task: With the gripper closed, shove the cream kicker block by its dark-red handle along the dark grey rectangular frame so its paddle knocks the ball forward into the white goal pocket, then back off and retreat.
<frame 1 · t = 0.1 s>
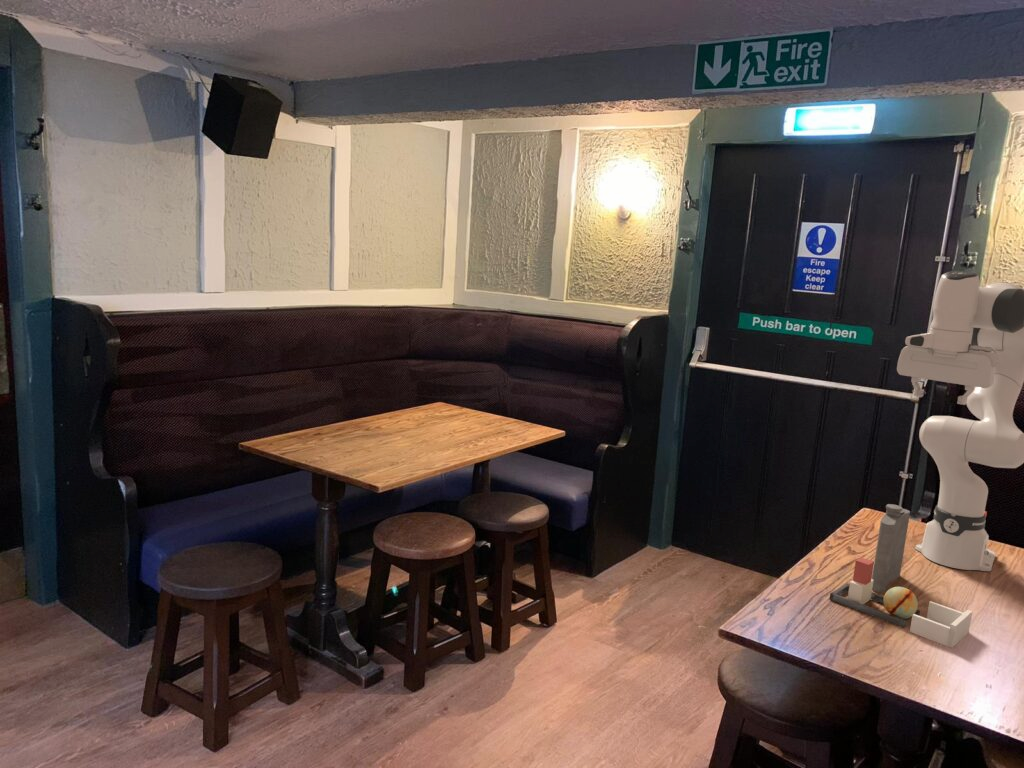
hand: (939, 400, 183), 48 cm above the table, tool pointing down, fingers open, 8 cm apart
ball: (898, 617, 177), on the table
dark grey rectangular frame: (873, 607, 181), on the table
goal: (939, 632, 171), on the table
kicker: (861, 580, 182), point 5 cm above the table, slide at 0.0 cm
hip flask: (883, 582, 196), on the table
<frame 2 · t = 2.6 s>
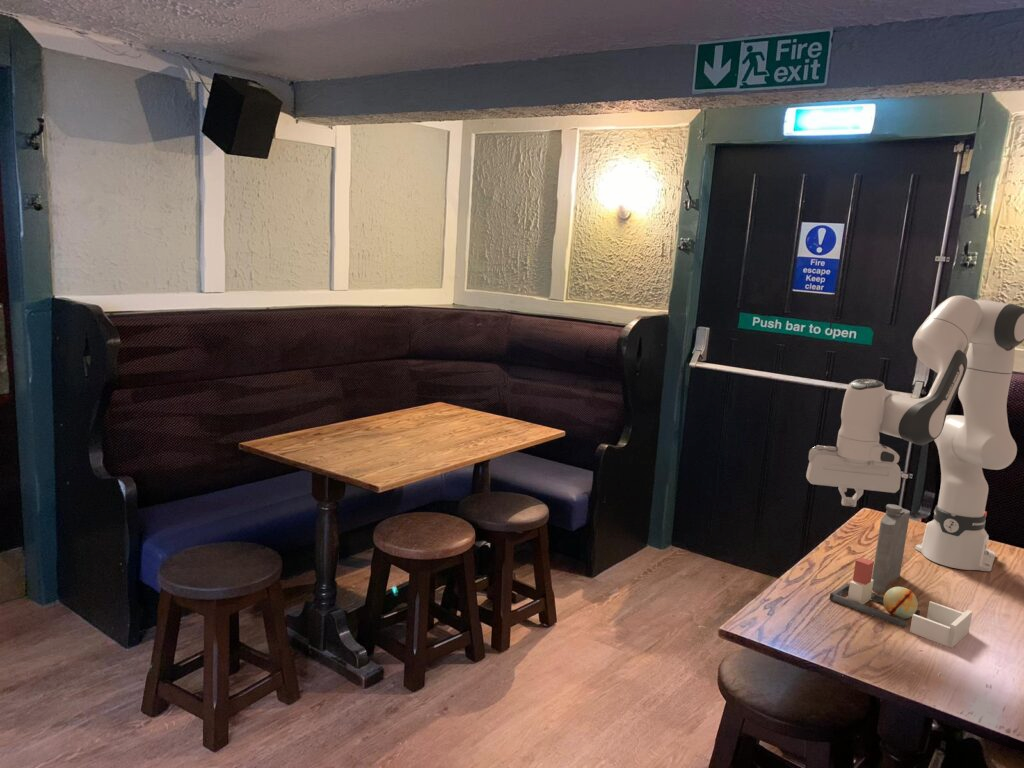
hand: (848, 505, 183), 22 cm above the table, tool pointing down, fingers closed
nothing on the table moved.
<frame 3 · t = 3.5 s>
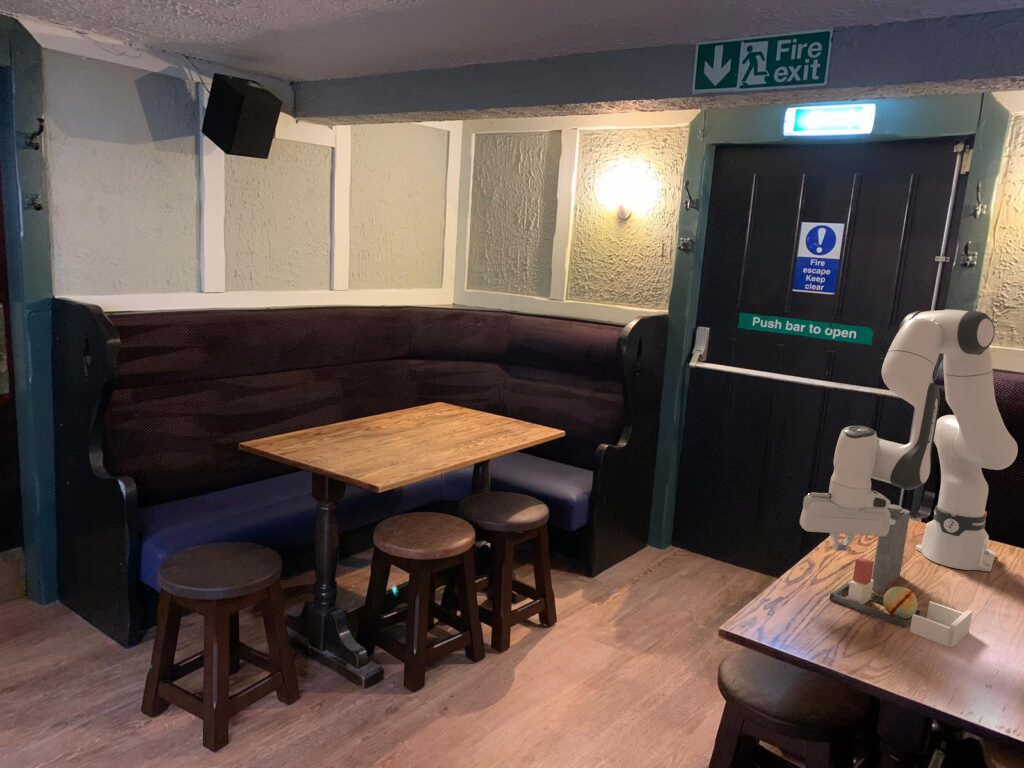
hand: (840, 550, 185), 11 cm above the table, tool pointing down, fingers closed
nothing on the table moved.
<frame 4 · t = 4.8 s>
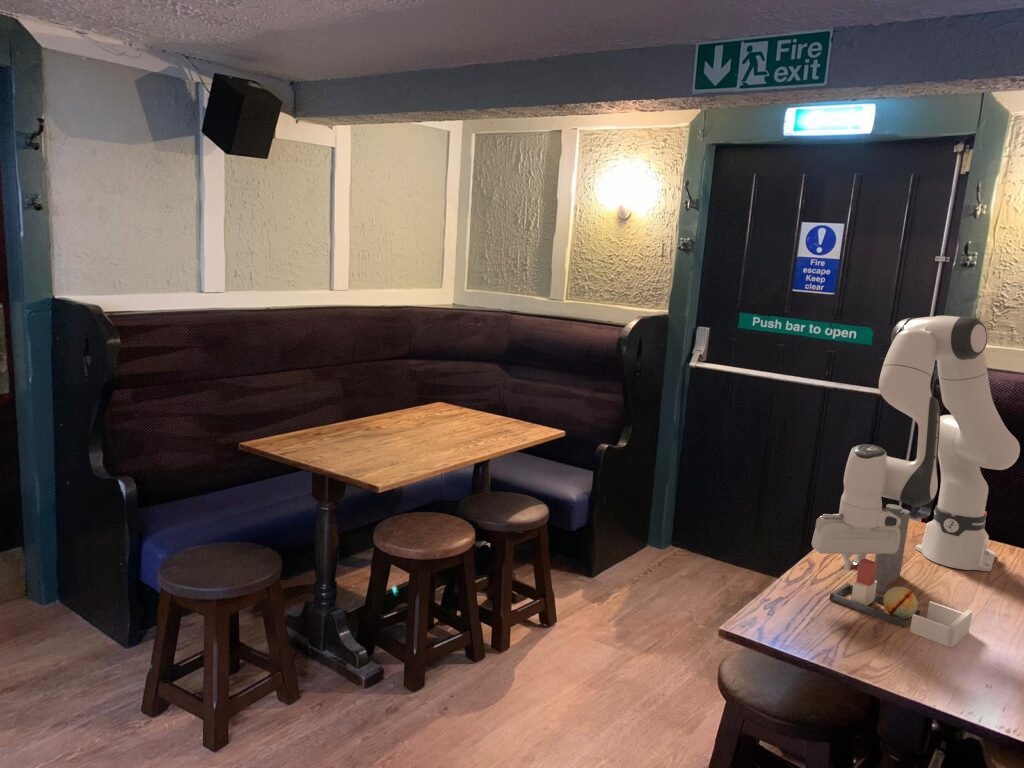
hand: (851, 569, 184), 7 cm above the table, tool pointing down, fingers closed
kicker: (865, 582, 182), point 5 cm above the table, slide at 0.8 cm, touching gripper
everything else where it was.
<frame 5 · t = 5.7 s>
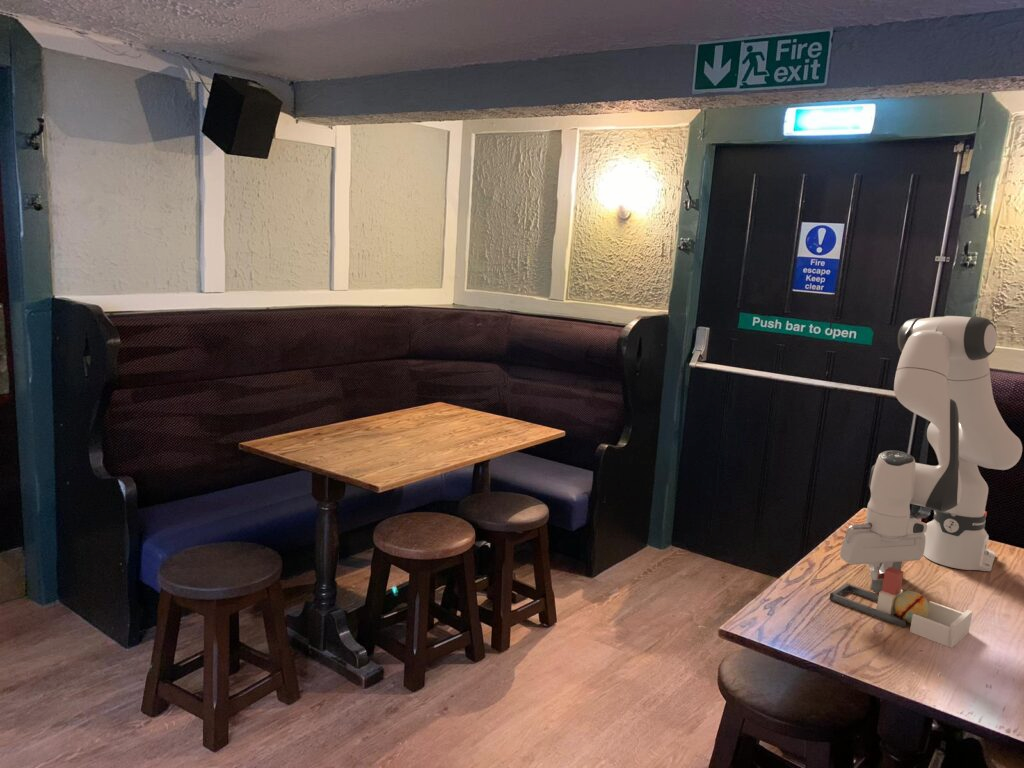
hand: (877, 578, 180), 7 cm above the table, tool pointing down, fingers closed
ball: (909, 622, 175), on the table, touching kicker
kicker: (891, 591, 178), point 5 cm above the table, slide at 6.7 cm, touching ball, gripper
everything else where it was.
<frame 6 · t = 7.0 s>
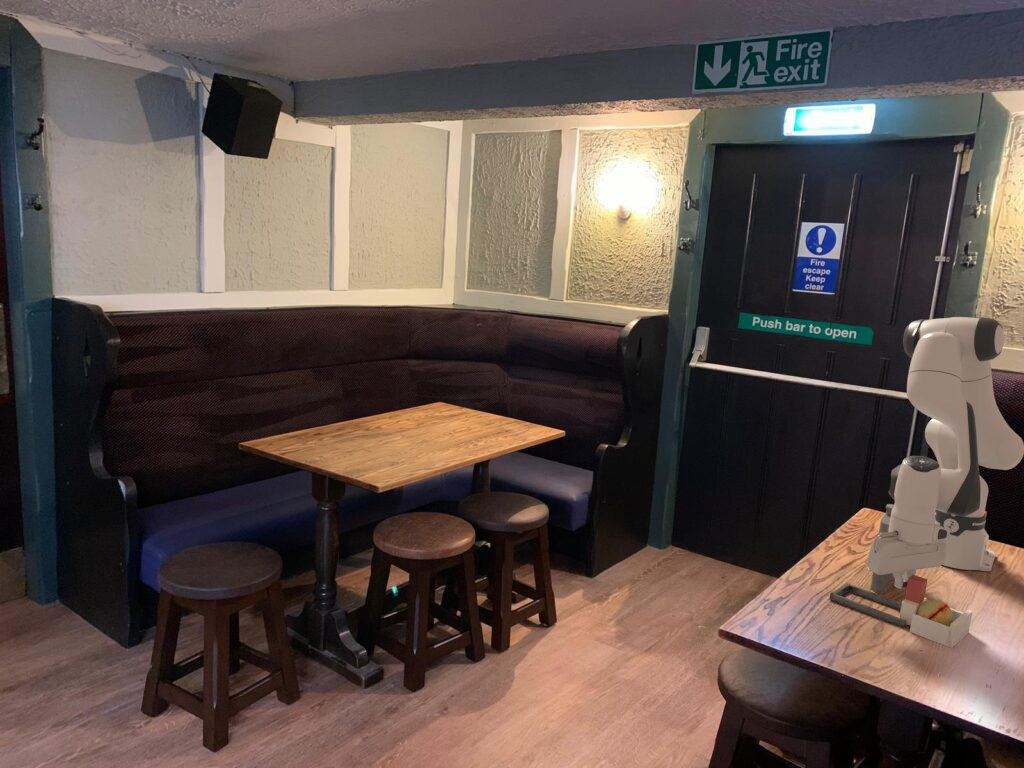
hand: (901, 587, 176), 7 cm above the table, tool pointing down, fingers closed
ball: (932, 631, 171), on the table, touching kicker
kicker: (914, 599, 174), point 5 cm above the table, slide at 11.8 cm, touching ball, gripper
everything else where it was.
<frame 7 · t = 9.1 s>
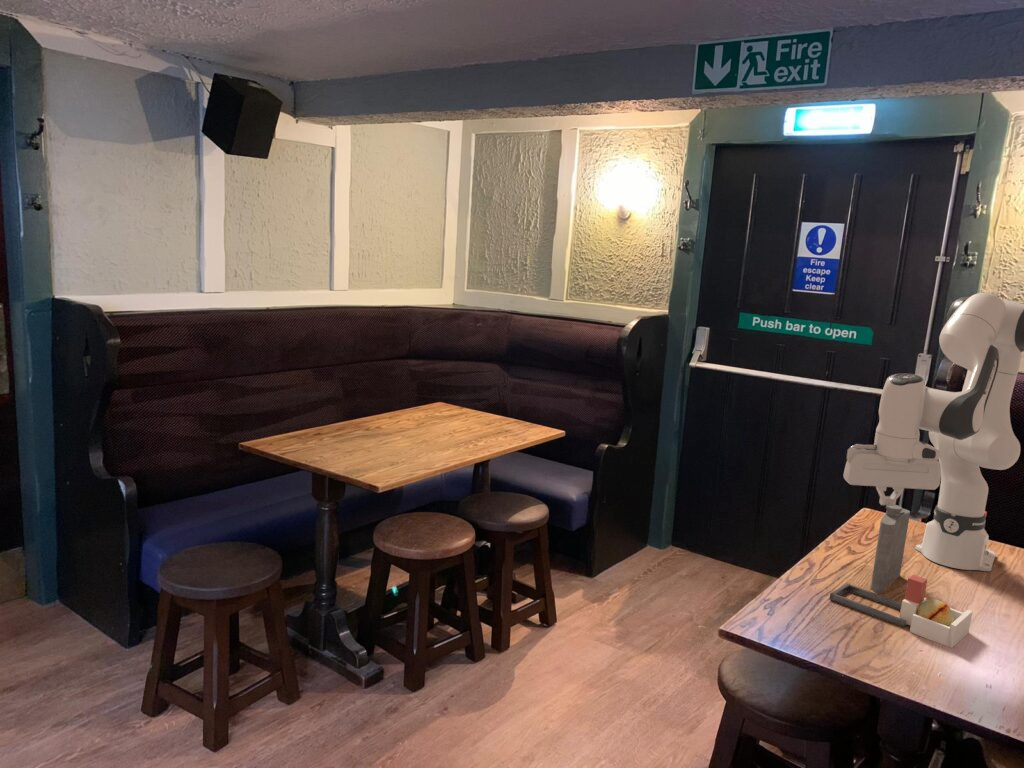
hand: (887, 504, 177), 25 cm above the table, tool pointing down, fingers closed
ball: (932, 631, 171), on the table
kicker: (914, 599, 174), point 5 cm above the table, slide at 11.7 cm
everything else where it was.
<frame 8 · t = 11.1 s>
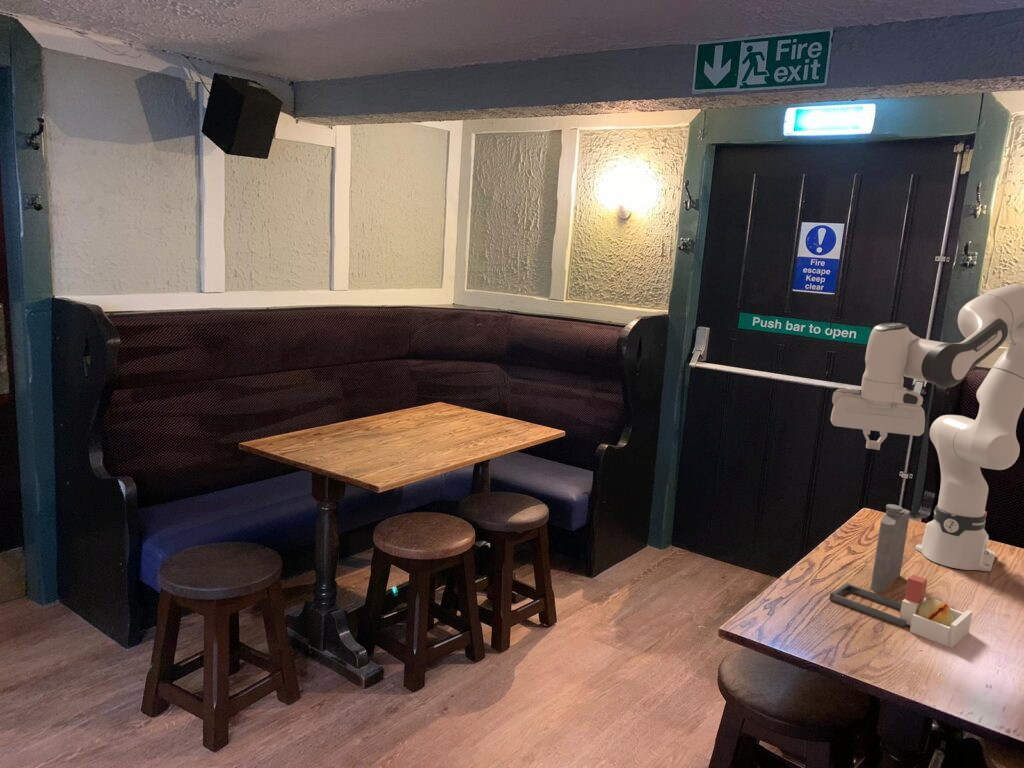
hand: (872, 448, 186), 35 cm above the table, tool pointing down, fingers closed
nothing on the table moved.
at the end: ball inside the target area (1.7 cm from its centre), on the table; kicker slide at 11.7 cm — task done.
